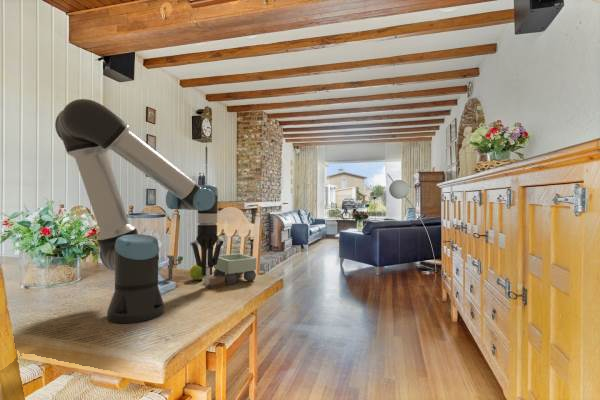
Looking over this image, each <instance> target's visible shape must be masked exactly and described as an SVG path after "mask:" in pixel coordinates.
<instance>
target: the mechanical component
mask: <svg viewBox="0 0 600 400" xmlns="http://www.w3.org/2000/svg"><path fill="white" fill-rule="evenodd" d="M167 257H168V258H169V265H167V267H166V268H167V269H168V274H167V275H168V278H167V279H168V280H172V279H173V269H174V267H175V266H178V265H180V264H181V263H182V261H183V258H184V257H183V256H181V255H179V256H178V257H177V259H176V257H175V255H168V254H167ZM176 262H177V263H176Z"/></svg>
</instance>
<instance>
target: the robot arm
mask: <svg viewBox="0 0 600 400" xmlns="http://www.w3.org/2000/svg"><path fill="white" fill-rule="evenodd" d="M54 126H55V127H54V128H55V132H56V134H57V136H58V137H59V138H60V140H61V141H62V143H63V145H64V148H65V152H66V154H67V155H69V156H71V157H72V158H74V159H75V163H76V166H77V168H78V171H79V173H80V176H81V179H82V183H83V185H84V188H85V192H86V194H87V197H88V200H89V204H90V206H91V209H92V212H93V215H94V218H95V221H96V223H97V226H98V230H99V234H98V235H97V237H96V241H97V243H98V244H97V245H98V246H99V259H100V261H101V262H102V264H103V265H104V266H105V267H106V268H107V269H109V270H111V271H113V272H114V291H113V294H112V297H111V300H110V303H109V305H108V307H107V311H106V312H107V313H106V314H107V316H106V317H107V320H108V321H109V322H111V323H116V324H131V323H132V324H133V323H134V324H135V323H140V322H144V321H145V322H146V321H148V320H152V319H155V318H157V317H160V316H161V315H162V314H163V313H164V311H165V308H164V307H165V304H164V300H163V297H162V294H161V291H160V288H159V263H160V260H159V256H160V254H159V253H160V246H159V240H158V239H157V237H155V236H153V235H149V234H139V233H138V230H137V227H136V226H134V225H133V224H131V223H130V221H129V219H128V216H127V213H126V209H125V206H124V203H123V200H122V196H121V193H120V190H119V187H118V184H117V182H116V179H115V175H114V171H113V169H112V166H111V162H110V159H109V156H108V151H109V150H111V151H113V152H114V153H116V154H117V155H118V156H120V157H122V159H124V160H125V161H127V162H128V163H130V164H131V165H132V166H134V168H136V169H138V170H139V171H140V172H142V173H143V174H145V175H146V177H147V176H148V177H149V178H150V179H152V180H153V181H154V182H155V183H157V184H159V185H160V186H161V187H163V189H165V190H167V192H166V193H165V205H166V206H167V208H168V209H169V210H176V211H177V210H185V211H187V210H189V211H197V224H198V225H197V234H196V235H197V236H196V239H195V240H194V241H192V242H190V246H191V247H192V250H193V251H192V252H193V253H194V259H195V265H197V266H199V267H201V268H202V276H204V278H203V284H204V285H206V286H207V285H208V284H210V277H211V276H213V268H214V265H217V262H218V257H219V255H220V253H221V249H222V246H223V244H224V241H223V240H220V238H219V236H218V203H219V202H218V201H219V200H218V199H219V191H218V187H217V186H216V185H214V184H213V185H212V184H198V183H197V182H195V181H194V180H192V179H191V178H190V177H189V176H188V175H186V174H185V173H184V172H182V171H181V170H180V169H179V168H177V167H176V166H175V165H174V164H173V163H171V162H170V161H168V160H167V159H166V158H164V156H162V155H161V154H160V153H158V152H157V151H156V150H155V149H154V148H152V147H151V146H150V145H148V143H146V142H145V141H143V140H142V139H141V138H140V137H139V136H138V135H136V134H135V133H133V131H131V129H130V126H129V124H128V123H127V122H125V121H124V120H123V119H122V118H120V117H119V116H117V114H115V113H114V112H113V111H112V110H110V109H109V108H107V107H106V106H105V105H103V104H101V103H99V102H98V101H95V100H91V99H87V98H79V99H75V100H72V101H70V102H68V103H67V105H65V106H64V108H63V110H61V111H60V112H59V113H58V114H57V116H56V118H55V125H54ZM215 244H216V245H215ZM198 246H200V250H201V253H200V251H199V247H198ZM214 246H215V247H214ZM200 255H201V256H200Z"/></svg>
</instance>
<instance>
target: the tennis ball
mask: <svg viewBox="0 0 600 400" xmlns="http://www.w3.org/2000/svg"><path fill="white" fill-rule="evenodd" d="M189 276H190V277H191V279H192V280H194V281H201V280H202V279H204V276H202V268H201V267H199V266H197V264H194V265H193V266H192V267H191V268H190V270H189Z"/></svg>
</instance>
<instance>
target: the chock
mask: <svg viewBox="0 0 600 400" xmlns="http://www.w3.org/2000/svg"><path fill="white" fill-rule="evenodd" d="M225 286H226V282H225V277H224V276H222V275H218V276H214V275H210V284H208V285H206V288H208V289H212V290H213V289H218V288H219V289H220V288H224V287H225Z"/></svg>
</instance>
